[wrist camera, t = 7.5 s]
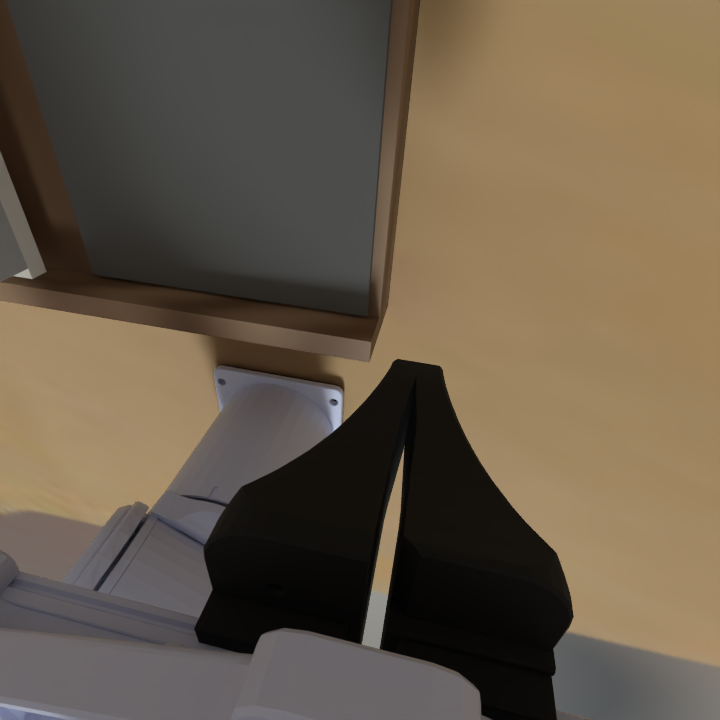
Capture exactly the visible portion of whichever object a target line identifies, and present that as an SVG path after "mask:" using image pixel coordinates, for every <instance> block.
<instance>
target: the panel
mask: <svg viewBox="0 0 720 720" xmlns="http://www.w3.org/2000/svg"><path fill="white" fill-rule="evenodd" d="M6 2H7V5H8V8H9V11H10V14H11V18H12V21H13V24H14V27H15V30H16V33H17V36H18V40H19V43H20V46H21V49H22V52H23V55H24V58H25V61H26V65H27V68H28V71H29V74H30V77H31V80H32V83H33V87H34V90H35V93H36V96H37V99H38V102H39V105H40V108H41V112H42V115H43V118H44V121H45V124H46V127H47V130H48V134H49V137H50V140H51V143H52V146H53V149H54V152H55V155H56V159H57V162H58V165H59V168H60V171H61V174H62V177H63V180H64V184H65V187H66V190H67V193H68V196H69V199H70V202H71V206H72V209H73V212H74V215H75V218H76V221H77V224H78V227H79V231H80V234H81V237H82V240H83V243H84V246H85V249H86V253H87V256H88V259H89V262H90V265H91V268H92V271H93V274H94V275H100V276H106V277H113V278H119V279H126V280H132V281H139V282H145V283H152V284H158V285H165V286H171V287H178V288H184V289H191V290H197V291H204V292H210V293H217V294H223V295H230V296H236V297H243V298H249V299H256V300H262V301H269V302H275V303H282V304H288V305H295V306H301V307H308V308H314V309H321V310H327V311H334V312H340V313H347V314H353V315H360V316H366V317H367V315H368V312H369V299H370V286H371V273H372V260H373V248H374V235H375V222H376V209H377V196H378V183H379V171H380V158H381V145H382V132H383V119H384V107H385V94H386V81H387V68H388V55H389V42H390V30H391V17H392V4H393V0H6Z"/></svg>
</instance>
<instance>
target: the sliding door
mask: <svg viewBox="0 0 720 720" xmlns="http://www.w3.org/2000/svg"><path fill="white" fill-rule="evenodd" d="M45 272H47V271H46V269H45V266H44V264H43V261H42V258H41V256H40V253H39V251H38V248H37V245H36V243H35V240H34V238H33V235H32V232H31V230H30V227H29V225H28V222H27V219H26V217H25V214H24V212H23V209H22V206H21V204H20V201H19V199H18V196H17V193H16V191H15V188H14V186H13V183H12V180H11V178H10V175H9V173H8V170H7V167H6V165H5V162H4V160H3V157H2V154H1V152H0V282H2V281H4V280H6V279H8V278H10V277H12V276H16V277H22V278H29V279H34V278H36V277H38V276H39V275H41V274H43V273H45Z"/></svg>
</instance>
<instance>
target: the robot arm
mask: <svg viewBox="0 0 720 720" xmlns="http://www.w3.org/2000/svg"><path fill="white" fill-rule="evenodd" d="M213 374H214V380H215V386H216V392H217V398H218V403H219V409H220V413H219V415H218V416H217V418H216V419H215V421H214V422H213V424H212V425H211V426H210V428H209V429H208V431H207V432H206V434H205V435H204V437H203V438H202V439H201V441H200V442H199V444H198V445H197V447H196V448H195V450H194V451H193V452H192V454H191V455H190V457H189V458H188V460H187V461H186V463H185V464H184V465H183V467H182V468H181V470H180V471H179V473H178V474H177V475H176V477H175V478H174V480H173V481H172V483H171V484H170V486H169V487H168V488H167V490H166V491H165V493H164V494H163V495H162V496H161V498H160V499H159V500H158V501H157V502H156V504H155V505H154V506H153V507H152V509H151V510H150V511H149V512H148V513H147V514H146V512H147V510H148V509H149V507H148V506H147V505H145V504H143V503H142V502H136V503H134V504H133V506H132V505H127V506H123V507H120V508H118V509H117V510H116V512H115V513H114V514H113V515H112V517H111V518H110V519H109V520H108V522H107V523H106V524H105V526H104V527H103V528H102V529H101V531H100V532H99V533H98V535H97V536H96V537H95V538H94V540H93V541H92V542H91V544H90V545H89V546H88V547H87V549H86V550H85V551H84V553H83V554H82V555H81V557H80V558H79V559H78V560H77V562H76V563H75V564H74V566H73V567H72V568H71V570H70V571H69V572H68V573H67V575H66V576H65V577H64V579H63V580H62V581H61V582H59V581H55V580H51V579H47V578H43V577H40V576H36V575H32V574H28V573H24V572H20V571H19V568H18V566H17V564H16V562H15V561H14V560H13V559H12V558H11V557H10V556H9V555H8V554H7V553H5V552H3V551H2V550H0V720H592V719H588V718H584V717H580V716H576V715H572V714H569V713H565V712H561V711H557V710H556V709H555V701H554V692H553V685H552V677H551V676H553V675H554V674H555V670H556V666H555V659H554V652H553V648H554V647H555V646H556V644H557V643H558V641H559V640H560V639H561V637H562V636H563V635H564V633H565V632H566V631H567V629H568V628H569V626H570V624H571V622H572V619H573V617H574V616H573V610H572V602H571V596H570V592H569V588H568V585H567V582H566V579H565V575H564V572H563V569H562V567H561V564H560V561H559V558H558V556H557V553H556V552H555V551H554V550H553V549H552V548H551V547H550V546H549V545H548V544H547V543H546V542H545V541H544V540H543V539H542V538H541V537H540V536H539V535H538V534H537V533H536V532H535V531H534V530H533V529H532V528H531V527H530V526H529V525H528V524H527V523H526V522H525V521H524V520H523V519H522V517H521V516H520V515H519V514H518V513H517V512H516V511H515V509H514V508H513V507H512V506H511V504H510V503H509V502H508V501H507V499H506V498H505V497H504V495H503V494H502V493H501V491H500V490H499V489H498V487H497V486H496V485H495V484H494V482H493V481H492V479H491V478H490V476H489V475H488V473H487V472H486V470H485V469H484V467H483V466H482V464H481V463H480V461H479V459H478V458H477V456H476V454H475V453H474V451H473V449H472V447H471V445H470V444H469V442H468V440H467V438H466V436H465V434H464V432H463V430H462V427H461V425H460V423H459V421H458V419H457V416H456V413H455V411H454V408H453V406H452V403H451V401H450V398H449V395H448V391H447V388H446V384H445V380H444V376H443V370H442V368H441V367H440V366H437V365H431V364H425V363H419V362H413V361H407V360H401V359H397V360H395V361H394V362H393V363H392V366H391V367H390V369H389V371H388V372H387V374H386V375H385V377H384V378H383V379H382V381H381V382H380V384H379V385H378V386H377V387H376V389H375V390H374V391H373V392H372V393H371V395H370V396H369V397H368V398H367V399H366V400H365V402H364V403H363V404H362V405H361V406H360V407H359V408H358V409H357V410H356V411H355V412H354V413H353V414H352V415H351V416H350V417H349V418H348V419H347V420H346V421H345V422H344V423H343V424H342V419H343V398H344V393H343V390H342V389H341V388H340V387H339V386H336V385H330V384H324V383H319V382H313V381H307V380H302V379H296V378H290V377H285V376H279V375H273V374H268V373H262V372H256V371H251V370H245V369H239V368H234V367H228V366H220V365H219V366H217V367H216V369H215V370H214V372H213ZM222 379H224V380H225V381H223V380H222ZM332 399H335V400H337V401H336V402H335V401H333V400H332ZM404 445H405V448H404ZM403 449H404V464H403V481H402V498H401V513H400V523H399V530H398V536H397V543H396V549H395V556H394V562H393V568H392V575H391V581H390V587H389V594H388V600H387V606H386V613H385V619H384V625H383V632H382V638H381V644H380V649H377V648H373V647H369V646H365V645H362V640H363V634H364V628H365V623H366V617H367V611H368V606H369V600H370V595H371V589H372V584H373V578H374V572H375V567H376V561H377V556H378V550H379V545H380V539H381V534H382V528H383V523H384V518H385V514H386V510H387V506H388V502H389V499H390V495H391V492H392V488H393V485H394V481H395V478H396V474H397V470H398V467H399V463H400V460H401V456H402V453H403Z"/></svg>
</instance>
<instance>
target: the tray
mask: <svg viewBox="0 0 720 720" xmlns="http://www.w3.org/2000/svg"><path fill="white" fill-rule="evenodd" d="M419 6H420V0H393V4H392V17H391V30H390V42H389V55H388V68H387V81H386V94H385V107H384V119H383V132H382V145H381V158H380V171H379V183H378V196H377V209H376V222H375V235H374V248H373V260H372V273H371V286H370V299H369V312H368V315H367V317H366V316H360V315H353V314H347V313H340V312H334V311H327V310H321V309H314V308H308V307H301V306H295V305H288V304H282V303H275V302H269V301H262V300H256V299H249V298H243V297H236V296H230V295H223V294H217V293H210V292H204V291H197V290H191V289H184V288H178V287H171V286H165V285H158V284H152V283H145V282H139V281H132V280H126V279H119V278H113V277H106V276H100V275H94V274H93V271H92V268H91V265H90V262H89V259H88V256H87V253H86V249H85V246H84V243H83V240H82V237H81V234H80V231H79V227H78V224H77V221H76V218H75V215H74V212H73V209H72V206H71V202H70V199H69V196H68V193H67V190H66V187H65V184H64V180H63V177H62V174H61V171H60V168H59V165H58V162H57V159H56V155H55V152H54V149H53V146H52V143H51V140H50V137H49V134H48V130H47V127H46V124H45V121H44V118H43V115H42V112H41V108H40V105H39V102H38V99H37V96H36V93H35V90H34V87H33V83H32V80H31V77H30V74H29V71H28V68H27V65H26V61H25V58H24V55H23V52H22V49H21V46H20V43H19V40H18V36H17V33H16V30H15V27H14V24H13V21H12V18H11V14H10V11H9V8H8V5H7V2H6V0H0V152H1V154H2V157H3V160H4V162H5V165H6V167H7V170H8V173H9V175H10V178H11V180H12V183H13V186H14V188H15V191H16V193H17V196H18V199H19V201H20V204H21V206H22V209H23V212H24V214H25V217H26V219H27V222H28V225H29V227H30V230H31V232H32V235H33V238H34V240H35V243H36V245H37V248H38V251H39V253H40V256H41V258H42V261H43V264H44V266H45V269H46V271H47V272H45V273H43V274H41V275H39V276H38V277H36V278H34V279H29V278H22V277H16V276H12V277H10V278H8V279H6V280H4V281H2V282H0V301H6V302H12V303H18V304H24V305H30V306H36V307H42V308H48V309H54V310H60V311H66V312H72V313H78V314H84V315H90V316H96V317H102V318H108V319H113V320H119V321H125V322H131V323H137V324H143V325H149V326H155V327H161V328H167V329H173V330H179V331H185V332H191V333H197V334H203V335H209V336H215V337H221V338H227V339H233V340H239V341H245V342H251V343H257V344H263V345H269V346H275V347H281V348H287V349H293V350H299V351H304V352H310V353H316V354H322V355H328V356H334V357H340V358H346V359H352V360H358V361H364V362H370V359H371V356H372V353H373V350H374V346H375V343H376V340H377V337H378V334H379V331H380V328H381V325H382V322H383V319H384V316H385V313H386V310H387V307H388V299H389V289H390V280H391V270H392V261H393V252H394V242H395V233H396V223H397V214H398V204H399V195H400V186H401V176H402V167H403V157H404V148H405V138H406V129H407V120H408V110H409V101H410V91H411V82H412V72H413V63H414V54H415V44H416V35H417V25H418V16H419Z"/></svg>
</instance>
